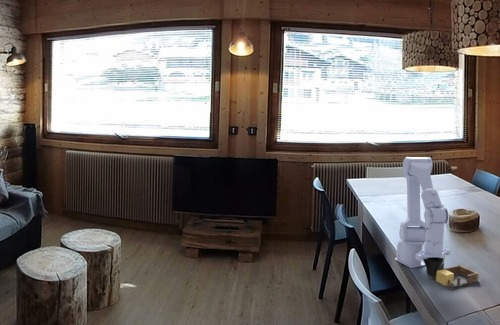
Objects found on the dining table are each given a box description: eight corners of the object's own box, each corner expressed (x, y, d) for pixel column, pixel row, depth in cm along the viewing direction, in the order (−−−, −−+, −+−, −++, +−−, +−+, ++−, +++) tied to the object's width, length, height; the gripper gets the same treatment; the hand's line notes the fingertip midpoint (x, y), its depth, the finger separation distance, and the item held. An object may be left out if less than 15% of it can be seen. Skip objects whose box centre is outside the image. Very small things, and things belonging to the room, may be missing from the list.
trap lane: (430, 278, 145) (431, 271, 145) (459, 272, 151) (459, 265, 150) (451, 289, 137) (451, 281, 136) (480, 282, 142) (481, 274, 142)
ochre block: (436, 281, 144) (436, 271, 143) (443, 279, 145) (444, 269, 144) (445, 285, 140) (446, 275, 139) (453, 283, 141) (454, 273, 141)
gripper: (427, 246, 131) (424, 284, 133) (458, 241, 136) (455, 277, 138) (411, 239, 137) (409, 275, 139) (442, 234, 143) (439, 269, 145)
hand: (431, 276), depth 139 cm, fingers closed
